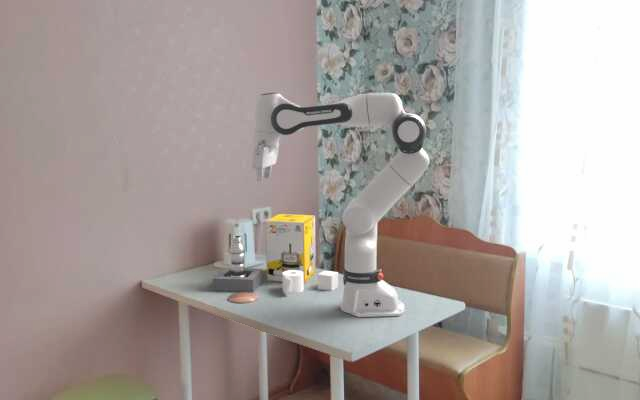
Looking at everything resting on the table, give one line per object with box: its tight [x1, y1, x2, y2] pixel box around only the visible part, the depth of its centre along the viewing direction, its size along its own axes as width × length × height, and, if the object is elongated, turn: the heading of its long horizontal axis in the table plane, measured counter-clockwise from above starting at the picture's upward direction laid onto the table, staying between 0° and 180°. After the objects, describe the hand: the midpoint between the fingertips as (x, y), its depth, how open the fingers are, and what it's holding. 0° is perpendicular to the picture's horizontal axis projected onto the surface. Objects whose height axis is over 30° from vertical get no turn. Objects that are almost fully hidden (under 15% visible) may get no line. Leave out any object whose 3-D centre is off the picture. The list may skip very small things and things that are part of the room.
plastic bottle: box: [228, 235, 246, 277], centre depth 226 cm, size 6×7×20 cm
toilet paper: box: [281, 270, 305, 297], centre depth 220 cm, size 8×11×7 cm
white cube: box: [317, 270, 339, 292], centre depth 224 cm, size 6×6×6 cm
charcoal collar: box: [212, 267, 263, 293], centre depth 227 cm, size 16×15×5 cm
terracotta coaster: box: [228, 292, 259, 304], centre depth 212 cm, size 11×11×1 cm
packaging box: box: [265, 213, 317, 284], centre depth 238 cm, size 16×16×25 cm
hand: (263, 179), depth 199 cm, fingers open, 8 cm apart
